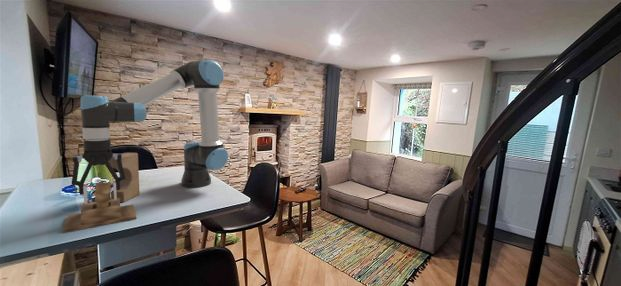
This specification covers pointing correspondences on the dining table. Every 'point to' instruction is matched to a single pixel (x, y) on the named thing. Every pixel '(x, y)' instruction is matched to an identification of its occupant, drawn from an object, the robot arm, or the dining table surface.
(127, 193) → the decorative block
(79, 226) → the board
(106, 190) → the peg
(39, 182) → the dining table surface
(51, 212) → the dining table surface
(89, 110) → the robot arm
